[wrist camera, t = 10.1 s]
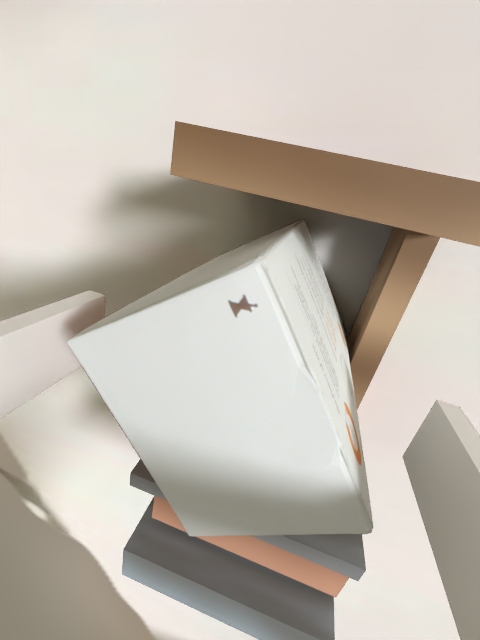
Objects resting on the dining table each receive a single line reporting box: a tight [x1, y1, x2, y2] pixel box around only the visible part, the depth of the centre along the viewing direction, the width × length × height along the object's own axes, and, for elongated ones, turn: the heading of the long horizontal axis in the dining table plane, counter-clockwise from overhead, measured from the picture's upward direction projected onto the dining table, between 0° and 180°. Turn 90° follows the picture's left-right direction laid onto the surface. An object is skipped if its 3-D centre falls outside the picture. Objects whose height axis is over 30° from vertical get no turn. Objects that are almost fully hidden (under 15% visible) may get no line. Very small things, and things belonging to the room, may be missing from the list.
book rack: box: [122, 121, 480, 640], centre depth 15 cm, size 19×10×12 cm, turn 168°
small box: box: [67, 220, 373, 536], centre depth 14 cm, size 8×6×13 cm
